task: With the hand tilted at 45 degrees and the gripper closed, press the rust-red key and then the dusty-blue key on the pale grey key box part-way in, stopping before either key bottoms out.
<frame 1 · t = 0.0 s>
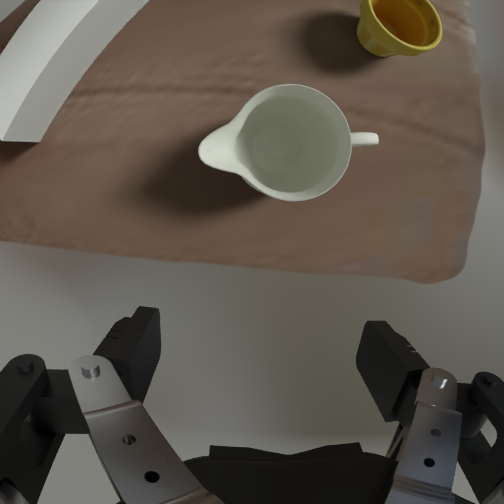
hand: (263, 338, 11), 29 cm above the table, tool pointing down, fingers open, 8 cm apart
plant pot: (376, 38, 33), on the table
pitcher: (284, 148, 38), on the table
key box: (69, 54, 32), on the table
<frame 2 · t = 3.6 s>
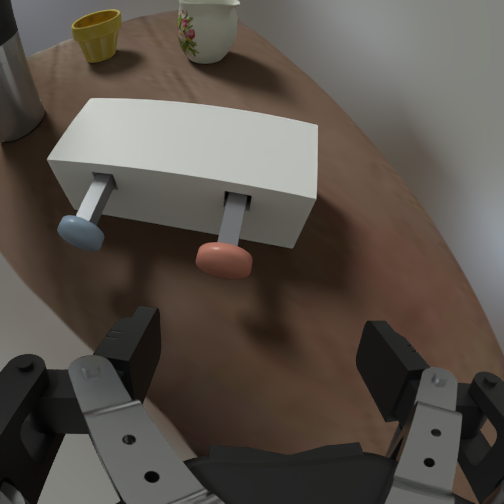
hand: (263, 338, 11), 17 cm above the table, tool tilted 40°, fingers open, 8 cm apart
blue key: (96, 199, 26), point 7 cm above the table, slide at 0.0 cm
plant pot: (101, 56, 50), on the table
pitcher: (203, 55, 51), on the table
red key: (232, 222, 26), point 6 cm above the table, slide at 0.0 cm
key box: (185, 190, 35), on the table
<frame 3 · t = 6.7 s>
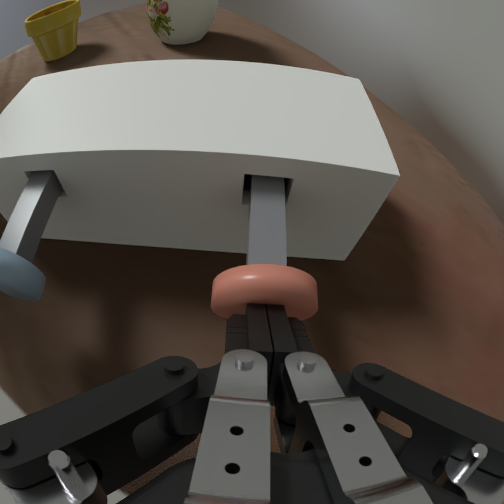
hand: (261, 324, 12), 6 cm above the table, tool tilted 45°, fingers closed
blue key: (31, 214, 14), point 7 cm above the table, slide at 0.0 cm
plant pot: (61, 53, 39), on the table
pitcher: (179, 37, 40), on the table
red key: (265, 224, 15), point 6 cm above the table, slide at 0.2 cm, touching gripper
key box: (173, 192, 24), on the table
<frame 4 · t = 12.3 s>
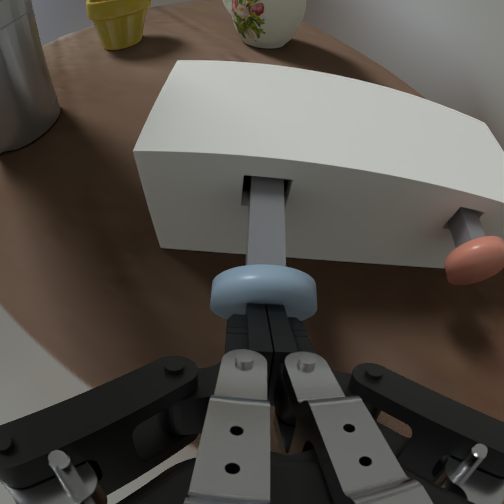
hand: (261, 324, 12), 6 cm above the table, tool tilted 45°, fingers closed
blue key: (265, 225, 15), point 7 cm above the table, slide at 0.3 cm, touching gripper
plant pot: (123, 43, 39), on the table
pitcher: (259, 40, 41), on the table
red key: (460, 212, 17), point 6 cm above the table, slide at 2.9 cm
key box: (336, 206, 24), on the table
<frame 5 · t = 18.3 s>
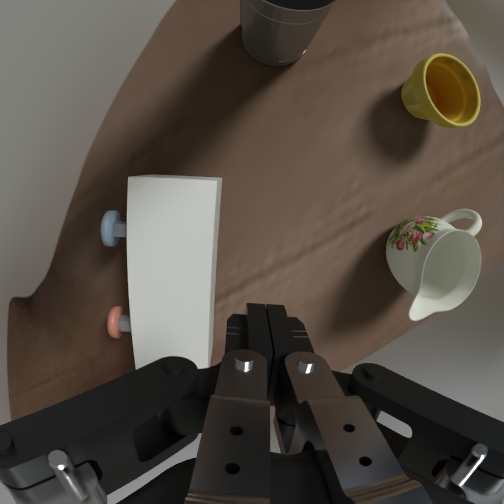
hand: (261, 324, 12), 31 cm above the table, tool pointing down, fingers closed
blue key: (139, 230, 36), point 6 cm above the table, slide at 3.0 cm
plant pot: (417, 99, 39), on the table
pitcher: (408, 240, 44), on the table
red key: (141, 325, 39), point 6 cm above the table, slide at 2.9 cm
key box: (181, 267, 44), on the table
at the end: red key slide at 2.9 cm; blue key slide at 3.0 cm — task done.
